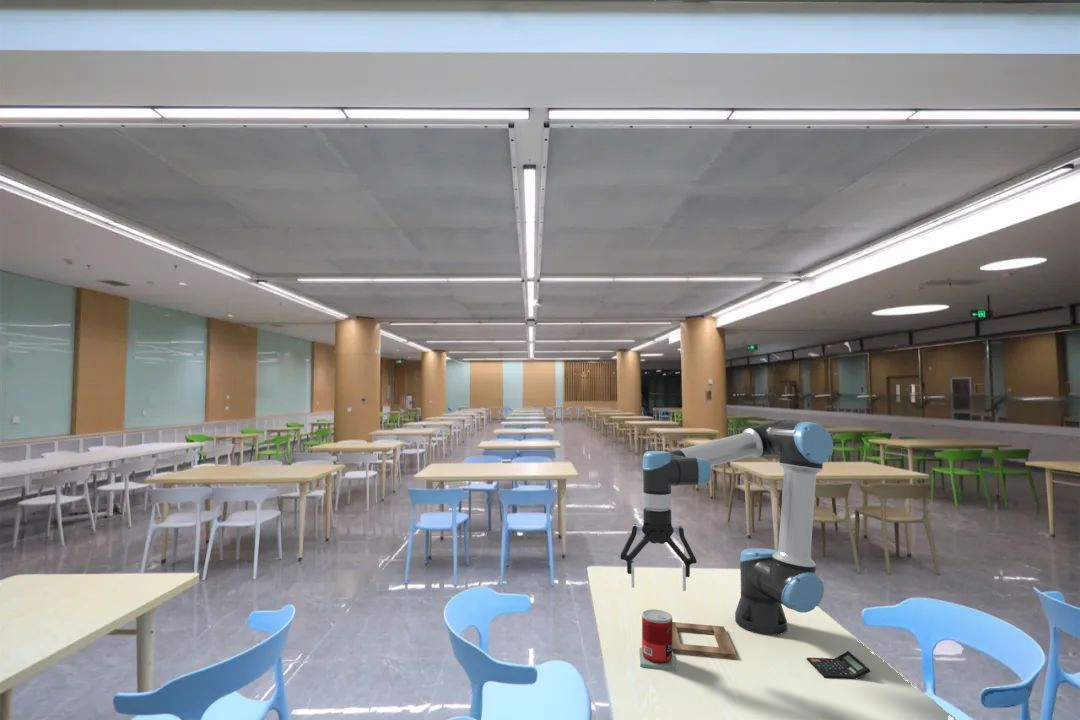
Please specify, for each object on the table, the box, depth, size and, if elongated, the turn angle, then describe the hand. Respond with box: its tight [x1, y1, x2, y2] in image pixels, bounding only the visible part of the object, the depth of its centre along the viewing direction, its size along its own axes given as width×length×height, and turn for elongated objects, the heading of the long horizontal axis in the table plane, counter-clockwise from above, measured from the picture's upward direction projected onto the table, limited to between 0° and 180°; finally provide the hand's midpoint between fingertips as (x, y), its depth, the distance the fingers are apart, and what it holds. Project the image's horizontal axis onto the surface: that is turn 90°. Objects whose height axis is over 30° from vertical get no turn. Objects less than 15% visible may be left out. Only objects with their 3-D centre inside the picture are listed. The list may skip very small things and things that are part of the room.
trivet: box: [638, 647, 677, 671], centre depth 139 cm, size 9×9×1 cm
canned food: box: [641, 608, 673, 664], centre depth 139 cm, size 8×8×11 cm
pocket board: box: [672, 621, 737, 660], centre depth 151 cm, size 18×18×1 cm
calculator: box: [806, 650, 871, 680], centre depth 136 cm, size 9×12×3 cm
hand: (658, 587), depth 140 cm, fingers open, 13 cm apart
